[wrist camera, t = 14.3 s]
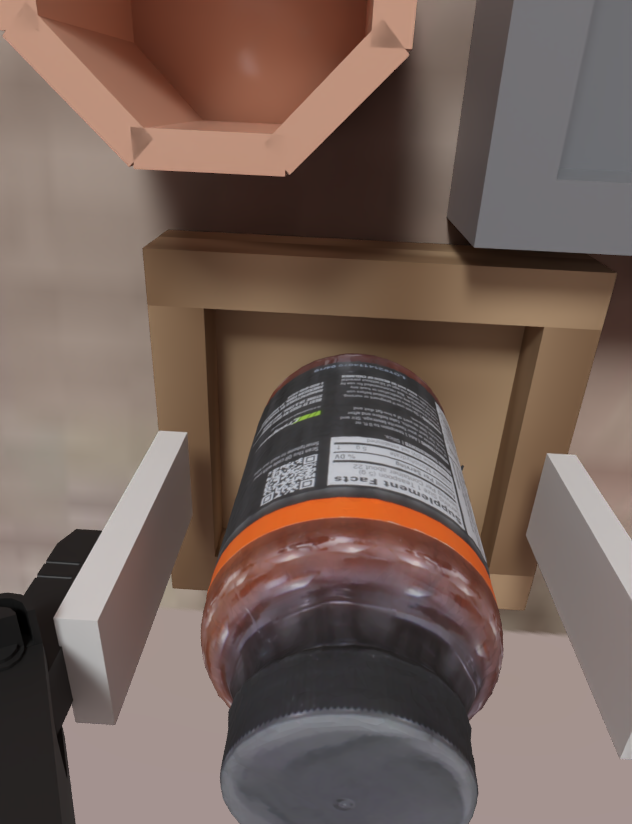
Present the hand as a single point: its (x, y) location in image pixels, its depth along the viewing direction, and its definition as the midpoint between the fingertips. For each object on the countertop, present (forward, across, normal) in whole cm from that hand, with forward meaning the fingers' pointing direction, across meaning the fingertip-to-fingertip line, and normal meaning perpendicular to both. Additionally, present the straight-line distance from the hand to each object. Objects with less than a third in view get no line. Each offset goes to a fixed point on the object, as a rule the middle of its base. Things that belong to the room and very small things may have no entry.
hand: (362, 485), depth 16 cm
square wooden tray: (+4, 0, 0) cm, 4 cm away
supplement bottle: (+3, 0, 0) cm, 3 cm away
